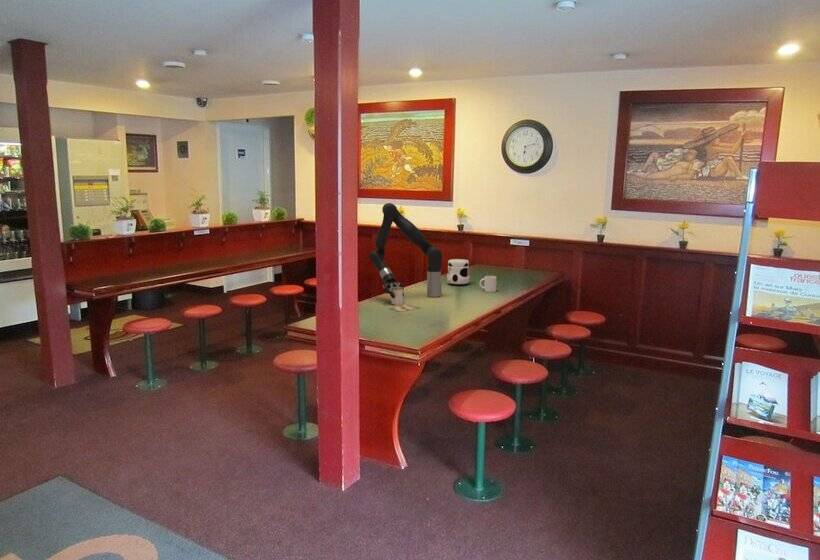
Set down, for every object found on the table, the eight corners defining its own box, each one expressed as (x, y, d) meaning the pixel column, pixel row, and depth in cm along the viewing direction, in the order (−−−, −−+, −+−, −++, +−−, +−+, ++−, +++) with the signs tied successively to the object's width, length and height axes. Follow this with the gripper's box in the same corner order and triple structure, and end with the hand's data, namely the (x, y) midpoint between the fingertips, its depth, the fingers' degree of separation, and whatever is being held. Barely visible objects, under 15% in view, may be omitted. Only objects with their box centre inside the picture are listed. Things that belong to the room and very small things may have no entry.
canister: (397, 302, 373) (397, 286, 371) (403, 304, 368) (402, 287, 366) (391, 303, 369) (391, 287, 367) (396, 305, 365) (396, 288, 363)
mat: (407, 304, 367) (407, 304, 367) (419, 308, 358) (419, 307, 358) (387, 308, 357) (387, 308, 357) (399, 312, 348) (399, 311, 348)
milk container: (442, 283, 436) (442, 259, 433) (462, 281, 443) (462, 258, 440) (453, 287, 421) (454, 263, 417) (474, 285, 428) (474, 261, 425)
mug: (477, 291, 406) (478, 277, 404) (480, 289, 414) (480, 275, 412) (494, 292, 402) (495, 278, 400) (497, 290, 410) (497, 276, 408)
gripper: (380, 274, 367) (392, 295, 360) (398, 271, 375) (409, 292, 369) (375, 281, 372) (387, 301, 365) (393, 278, 380) (404, 298, 374)
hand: (398, 296), depth 367 cm, fingers open, 7 cm apart
